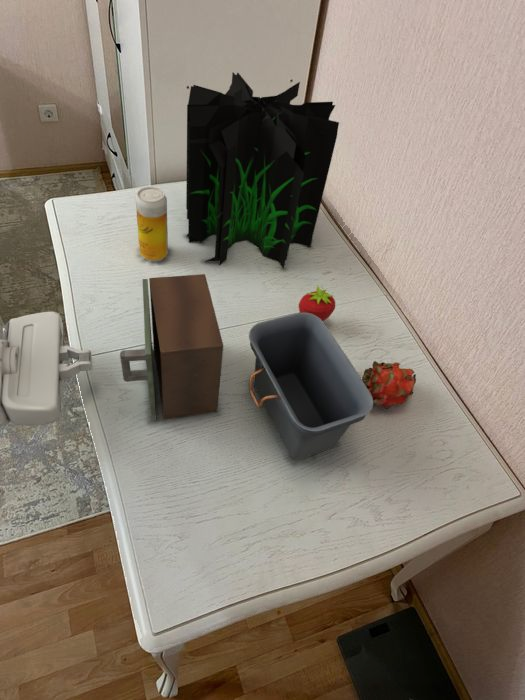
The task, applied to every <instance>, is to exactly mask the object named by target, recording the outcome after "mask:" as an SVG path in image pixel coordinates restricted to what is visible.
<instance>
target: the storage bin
mask: <svg viewBox="0 0 525 700" xmlns="http://www.w3.org/2000/svg"><path fill="white" fill-rule="evenodd" d="M248 339H249V345H250V349H251V350H252V352H253V355H254V356H255V363H254V365H255V366H254V372H253V373H252V374H251V376H250V379H249V393H250V396H251V398H252V400H253V402H254V403H255V405H256V407H257V408H260V407H261V406H262V405H263V407H264V408H265V410H266V412H267V413H268V416H269V417H270V420H271V423H272V424H273V425H274V427H275V429H276V432H277V434H278V435H279V438H280V439H281V442H282V443H283V445H284V447H285V449H286V451H287V453H288V455H289V457H290V458H291V460H293V461H299V460H302V459H305V458H308V457H311V456H313V455H317V454H319V453H322V452H324V451H327V450H330V449H333V448H335V447H336V446H337V445H338V443H339V442H340V440H341V439H342V438H343V436H344V435H345V434H346V432H347V430H348V429H349V427H350V426H351V425H354V424H357V423H360V422H361V421H363V420H364V419H365V418H366V417H367V415H368V414H370V413H371V411H372V410H373V408H374V404H373V398H372V395H371V393H370V392H369V390H368V389H367V387H366V386H365V384H364V382H363V381H362V377H361V376H360V374H359V372H358V371H357V369H356V368H355V367H354V365H353V363H352V362H351V360H350V359H349V358H348V356H347V354H346V353H345V352H344V350H343V349H342V347H341V345H340V343H338V341H337V340H336V338H335V336H334V335H333V334H332V332H331V331H330V330H329V327H327V325H326V324H325V322H324V321H322V320H321V319H320V318H319V317H317V316H315V315H313V314H310V313H300V312H297V313H292V314H288V315H284V316H280V317H276V318H273V319H268V320H264V321H260V322H257V323H255V324H254V325H253V326H252V327H251V328H250V330H249V333H248ZM253 388H254V389H255V392H256V393H257V395H258V396H259V399H260V401H259V400H258V399H257V397H256V396H255V393H254V389H253ZM258 401H259V402H258Z"/></svg>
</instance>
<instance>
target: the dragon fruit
mask: <svg viewBox="0 0 525 700" xmlns="http://www.w3.org/2000/svg"><path fill="white" fill-rule="evenodd" d="M400 366H401V363H400V362H397V361H396V362H393V363H390V362H387V363H386V362H384V361H383V362H377V361H376V360H373V362H372V367H369V368H366V369H364V371H363V375H362V377H361V379H362V381H363V382H364V384H365V386H366V387H367V389H368V390H369V392H370V393H371V395H372V398H373V405H375V406H379V405H381V406H383V407H385V409H386V410H389V409H390V408H391V407H392V406H391V405H402V404H404V403H406V402H407V400H408V399H409V398H410V397H411V396H412V395H413V394H414V391H413V389H414V387H415V385H416V382H417V377H416V376H417V375H416V373H415V371H414V369H412V368H403V367H402V368H401V367H400Z"/></svg>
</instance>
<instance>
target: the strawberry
mask: <svg viewBox="0 0 525 700" xmlns="http://www.w3.org/2000/svg"><path fill="white" fill-rule="evenodd" d="M321 287H322V289H321V288H320V286H319V285H317V286H316V290H315V291H311V292H306V294H304V295H303V296H302V297H301V298H300V300H299V302H298V311H299V313H310V314H313V315H315V316H317V317H319V318H320V319H321V320H322V321H323V322H324V321H325V320H328V319H329V318H330V317H331V315H332V314H333V313H334V312H335V309H336V300H335V298H334V295H332V294H330V293H328V292H326V291H327V289H324V287H323V285H322V284H321Z"/></svg>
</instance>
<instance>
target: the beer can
mask: <svg viewBox="0 0 525 700" xmlns="http://www.w3.org/2000/svg"><path fill="white" fill-rule="evenodd" d="M135 209H136V210H135V211H136V221H137V224H136V225H137V235H138V237H137V238H138V249H139V254H140V256H141V257H142V258H144V259H145V260H146V261H149V262H160V261H162V260H163V259H164V258H166V257H167V255H168V254H169V237H168V236H169V235H168V232H169V230H168V198H167V196H166V194H165V192H164V190H162V189H161V188H159V187H156V186H146V187H142V188H140V189H139V190H138V191H137V194H136V196H135Z"/></svg>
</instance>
